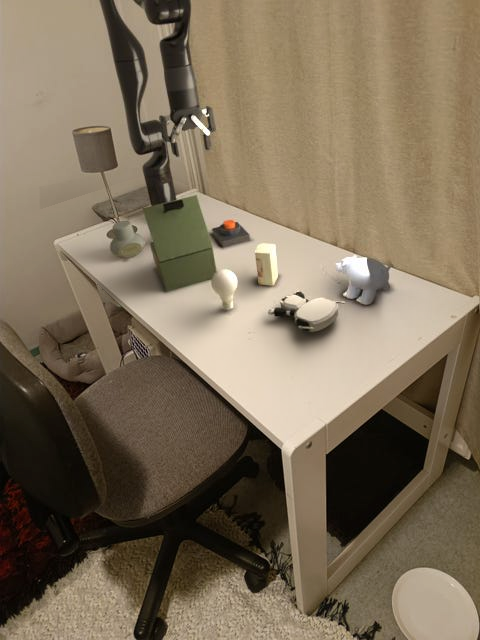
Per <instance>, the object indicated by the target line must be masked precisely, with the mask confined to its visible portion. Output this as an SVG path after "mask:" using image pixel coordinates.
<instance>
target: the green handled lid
mask: <svg viewBox="0 0 480 640" xmlns="http://www.w3.org/2000/svg"><path fill="white" fill-rule="evenodd" d="M142 212H143V215H144V219H145V222H146V224H147V227H148V231H149V234H150V237H151V240H152V241H151V242H153V244H154V247H155V250H156V253H157V256H158V260H159V262H162V261H166V260H169V259H173V258H177V257H180V256H184V255H188V254H191V253H195V252H198V251H202V250H206V249H209V248H212V249H213V246H214V245H213V243H212V239H211V237H210V234H209V230H208V227H207V224H206V221H205V218H204V214H203V211H202V208H201V205H200V202H199V198H198V195H197V194H195V195H191V196H187V197H183V198H179V199H177V200H174V201H170V202H166V203H162V204H158V205H154V206H151V205H150V206H146V207H142Z"/></svg>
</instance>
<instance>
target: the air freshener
mask: <svg viewBox="0 0 480 640" xmlns="http://www.w3.org/2000/svg"><path fill="white" fill-rule="evenodd" d="M112 232H113V234H114V237H113V239H112V240H111V241H110V244H109V249H110V251H111V253H112V254H114V255H115V256H116V257H119V258H132V257H135V256H137V255H138V254H139V253H141V252H142V251H143V249H144V248H145V245H146V241H145V238H144V237H143V236H142V235H141V234H139V233H137V232H135V231H134V228H133V225H132V222H131V221H129V220H120V221H117V222H115V223H114V224H113V225H112Z"/></svg>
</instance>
